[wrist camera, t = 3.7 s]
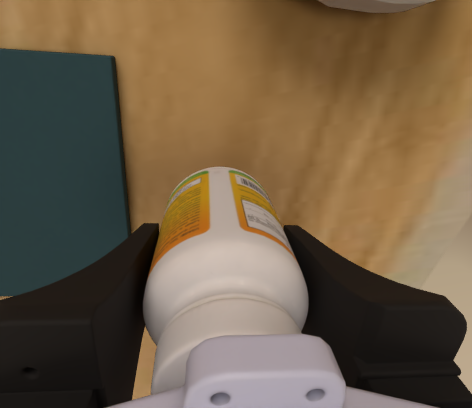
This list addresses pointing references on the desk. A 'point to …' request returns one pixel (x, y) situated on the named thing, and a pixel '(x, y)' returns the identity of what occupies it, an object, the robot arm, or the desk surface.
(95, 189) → the teal notebook
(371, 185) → the desk surface
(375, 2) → the robot toy
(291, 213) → the desk surface
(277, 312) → the supplement bottle
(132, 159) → the desk surface
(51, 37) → the desk surface
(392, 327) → the robot arm
